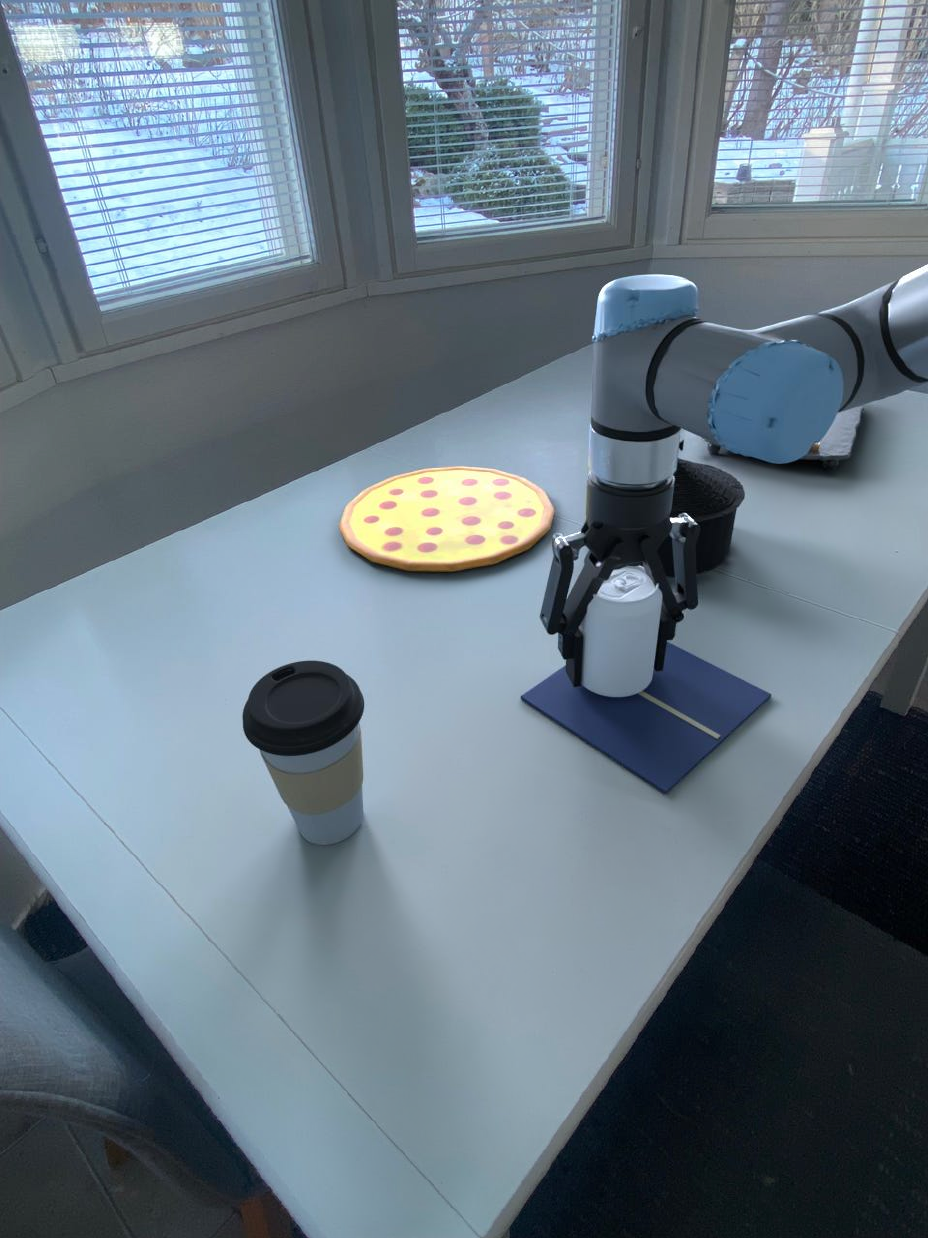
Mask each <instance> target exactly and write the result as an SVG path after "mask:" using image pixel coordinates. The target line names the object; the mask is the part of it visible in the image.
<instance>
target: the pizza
mask: <svg viewBox="0 0 928 1238" xmlns="http://www.w3.org/2000/svg"><path fill="white" fill-rule="evenodd" d="M554 514H555V507H554V505H553V503H552V502H551V500H550V498H549V497H548V494H547V493H546V492H545V490H544V489H543V488H541V487H539V486H538V485H537V484H535V483H533V482H531V481H530V480H528V479H527V478H524V477H523V476H519V475H517V474H513V473H509V472H505V471H502V470H498V469H495V468H486V467H474V466H473V467H471V466H462V465H459V466H446V467H445V466H444V467H433V468H432V467H431V468H423V469H420V470H414V471H412V472H406V473H402V474H398V475H393V476H391V477H389V478H386V479H384V480H383V481H380V482H378V483H375V484H374V485H371V486H369V487H367V488H365V489H363V490H362V491H361V492H360V493H358V495H357V496H356V497H354V498H353V499H352V500H351V501H350V502H348V504H346V505H345V507H344V510H343V513H342V516H341V519H340V522H339V524H338V529H339V530H340V532H341V535H342V536H343V539H344V542H345V543H346V545H347V547H349V548H350V549H351V550H353V551H354V552H356V553H358V555H359V554H360V555H361V556H363V557H364V558H365V559H367V560H369V561H370V562H372V563H375V564H379V565H384V566H386V567H387V566H388V567H392V568H396V569H400V570H403V571H407V572H437V573H438V572H440V573H441V572H442V573H443V572H444V573H453V572H458V571H465V570H469V569H474V568H481V567H486V566H492V565H496V564H498V563H501V562H503V561H505V560H508V559H510V558H512V557H515V556H517V555H519V554H521V553H524V552H526V551H528V550H530V549H531V548H532V547H533V546H534V545H536V544H537V542H538V541H540V540H541V539H542V538H543V537H544V536H545V535H547V533H548V532H549V531H550V530H551V528H552V527H551V526H552V522H553V518H554Z"/></svg>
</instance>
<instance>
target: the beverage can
mask: <svg viewBox="0 0 928 1238" xmlns="http://www.w3.org/2000/svg"><path fill="white" fill-rule="evenodd" d="M658 587H659V583H657V585H655V584H654V582H653V581H652V580H651V578H650V577H649V576H648V575H647V573H646V571H645V569H644V567H642V566H626V567H624V568H621V569H617V570H613V572H612V574H611V575H610V577H609V579H608V580H607V581H604V582H603V584H602V586H601V587H600V589H599V591H598V593H597V595H596V594H593V597H594V598H593V599H592V601H591V602H590V603H589V605H588V607H587V613H586V615H585V617H584V619H583V620H582V622H581V624H580V626H579V629H580V631H581V633H582V634H583V654H582V673H581V684H582V685H583V686H584V687H585V688H587V689H588V690H590V691H592V692H594V693H597V694H600V695H603V696H608V697H626V696H631V695H634V694H637V693H639V692H641V691H642V690H644V689H645V688H646V687H647V686H648V685H649V684H650V682H651V680H652V676H653V669H654V661H655V653H656V645H657V637H658V629H659V621H660V613H661V606H662V592H661V590H660V589H659V588H658Z"/></svg>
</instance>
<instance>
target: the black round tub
mask: <svg viewBox="0 0 928 1238" xmlns="http://www.w3.org/2000/svg"><path fill="white" fill-rule="evenodd" d="M684 443H685V439H682V440H680V443H679V451H681V452H683V451H684ZM673 475H674V478H675V484H674V492H673V500H672V508H671V512H670V514H669V517H670V518H677V517H678V516H679V515H680V514H682V513H687V514H688V515H689V516H690V517H691V518H692V519H693V520H694V521H695V522H696V523H697V524H698V525H699V526H700V533H699V536H698V539H697V542H696V545H695V552H696V569H697V575H700V574H703V573H706V572H709V571H711V570H713V569H715V568H717V567H718V566H720V565H721V564H722V563H723V562H724V561H725V560H726V558H727V557H728V555H729V554H730V549H731V543H732V538H733V533H734V527H735V522H736V516H737V515H736V514H737V509H738V508H739V507H740V506H741V505H742V503H743V501H744V500H745V497H746V492H745V489H744V486H743V484H742V483H741V481H739V480H738V479H737V478H736V477H735V476H733V475H732V474H731V473H729V472H727V471H725V470H723V469H721V468H718V467H715V466H713V465H710V464H706V463H705V464H704V463H701V462H700V463H699V462H694V461H690V460H687V459H683V458H680V457H678V461H677V470H676V471H675V473H674V474H673ZM657 553H658V555H659V557H660V560H661V562H662V565H663V570H664V572H665V574H666V577H667V578H675V570H674V558H673V546H672V537H671V536H670V534H669V535H668V536H667V538H666V539H665V540H664V541H663V542H662V544H661V545H660V546H659V547H658V549H657ZM641 566H642V567H643V565H641Z"/></svg>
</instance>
